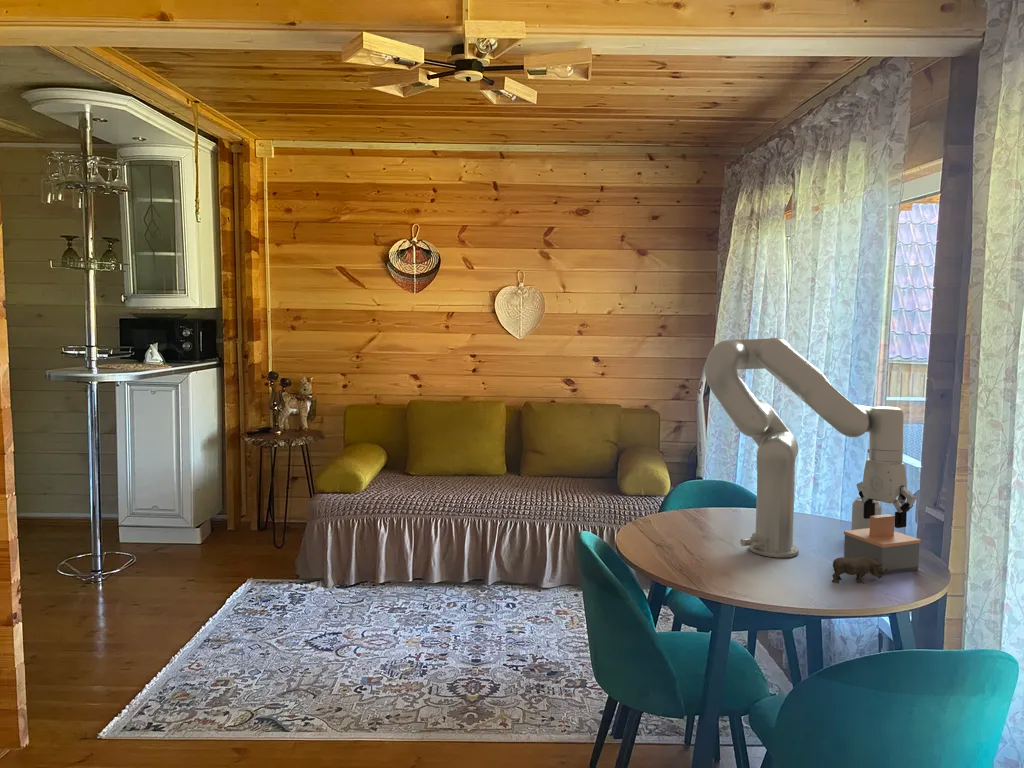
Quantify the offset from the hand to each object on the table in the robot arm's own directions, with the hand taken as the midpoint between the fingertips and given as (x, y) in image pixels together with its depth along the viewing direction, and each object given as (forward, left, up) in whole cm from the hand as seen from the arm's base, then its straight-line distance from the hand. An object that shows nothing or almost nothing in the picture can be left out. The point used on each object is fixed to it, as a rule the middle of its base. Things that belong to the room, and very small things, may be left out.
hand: (884, 522), depth 185 cm
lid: (0, 0, -5) cm, 5 cm away
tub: (0, 0, -11) cm, 11 cm away
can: (+14, +19, -11) cm, 26 cm away
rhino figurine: (-15, -7, -12) cm, 20 cm away
